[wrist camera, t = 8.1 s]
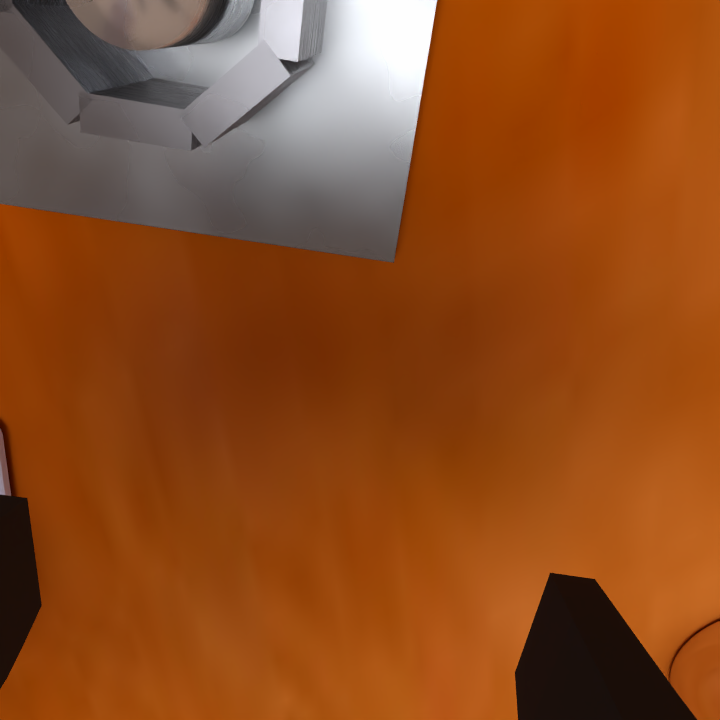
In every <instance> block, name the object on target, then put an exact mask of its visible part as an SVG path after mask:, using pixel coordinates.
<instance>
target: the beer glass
mask: <svg viewBox="0 0 720 720" xmlns="http://www.w3.org/2000/svg"><path fill="white" fill-rule="evenodd" d="M670 684H671V685H672V687H673V688H674V689H675V691H676V692H677V693H678V695H679V696H680V698H681V699H682V700H683V701H684V703H685V704H686V705H687V707H688V708H689V709H690V711H691V712H692V713H693V715H694V716H695V717H696V718H697V720H720V620H719V621H717V622H715V623H713V624H711V625H709V626H707V627H706V628H704V629H703V630H701V631H700V632H698V633H697V634H695V635H694V636H693V637H692V638H691V639H690V640H689V641H688V642H687V643H686V644H685V645H684V646H683V647H682V648H681V650H680V651H679V652H678V654H677V656H676V657H675V659H674V661H673V664H672V667H671V671H670Z"/></svg>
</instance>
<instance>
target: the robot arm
mask: <svg viewBox="0 0 720 720" xmlns="http://www.w3.org/2000/svg"><path fill="white" fill-rule="evenodd" d="M40 608H41V597H40V590H39V582H38V575H37V568H36V560H35V553H34V545H33V538H32V530H31V523H30V516H29V508H28V501H27V498H22V497H15V496H11V490H10V483H9V476H8V469H7V462H6V455H5V448H4V440H3V434H2V431H1V429H0V688H1V687H2V685H3V684H4V682H5V680H6V679H7V677H8V675H9V673H10V671H11V669H12V667H13V665H14V663H15V661H16V659H17V657H18V655H19V653H20V651H21V649H22V646H23V644H24V642H25V640H26V638H27V636H28V634H29V631H30V629H31V627H32V625H33V623H34V621H35V618H36V616H37V614H38V612H39V610H40ZM515 680H516V695H517V710H518V720H697V718H696V717H695V716H694V715H693V713H692V712H691V711H690V709H689V708H688V707H687V705H686V704H685V703H684V701H683V700H682V699H681V698H680V696H679V695H678V693H677V692H676V691H675V689H674V688H673V687H672V685H671V684H670V683H669V681H668V680H667V679H666V677H665V676H664V675H663V673H662V672H661V670H660V669H659V668H658V666H657V665H656V664H655V662H654V661H653V659H652V658H651V657H650V655H649V654H648V652H647V651H646V650H645V648H644V647H643V646H642V644H641V643H640V641H639V640H638V639H637V637H636V636H635V634H634V633H633V632H632V630H631V629H630V627H629V626H628V625H627V623H626V622H625V620H624V619H623V618H622V616H621V615H620V613H619V612H618V611H617V609H616V608H615V607H614V605H613V604H612V602H611V601H610V600H609V598H608V597H607V595H606V594H605V593H604V591H603V590H602V589H601V587H600V586H599V584H598V583H597V582H596V580H595V579H590V578H583V577H576V576H569V575H562V574H555V573H550V575H549V578H548V581H547V584H546V586H545V589H544V592H543V595H542V598H541V601H540V603H539V606H538V609H537V612H536V615H535V618H534V620H533V623H532V626H531V629H530V632H529V635H528V637H527V640H526V643H525V646H524V649H523V652H522V654H521V657H520V660H519V663H518V666H517V669H516V671H515Z"/></svg>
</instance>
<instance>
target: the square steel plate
mask: <svg viewBox="0 0 720 720" xmlns="http://www.w3.org/2000/svg"><path fill="white" fill-rule="evenodd" d="M66 2H67V4H68V5H69V7H70V9H71V10H72V11H73V13H74V14H75V16H76V17H77V18H78V19H79V20H80V21H81V23H82V24H83V25H84V26H85V27H86V28H87V29H89V30H90V31H91V32H92V33H93V34H95V35H96V36H98V37H99V38H101V39H102V40H104V41H106V42H108V43H110V44H112V45H114V46H117V47H120V48H124V49H128V50H132V51H133V52H134V53H135V54H136V56H137V57H138V58H139V59H140V61H141V62H142V63H143V64H144V66H145V67H146V68H147V69H148V71H149V72H150V73H151V74H152V76H153V77H154V78H157V79H163V80H169V81H175V82H181V83H187V84H193V85H199V86H205V87H210V86H212V85H213V84H214V83H215V82H216V81H217V80H219V79H220V78H221V77H222V76H223V75H224V74H225V73H227V72H228V71H229V70H230V69H231V68H232V67H233V66H235V65H236V64H237V63H238V62H239V61H240V60H242V59H243V58H244V57H245V56H246V55H247V54H248V53H250V52H251V51H252V50H253V49H254V48H255V47H256V46H258V36H259V22H260V8H261V0H66ZM436 3H437V0H327V9H326V18H325V27H324V36H323V45H322V53H320V54H318V55H315V56H312V57H311V58H312V59H313V61H314V62H315V65H314V66H313V67H312V68H310V69H309V70H308V71H307V72H306V73H304V74H303V75H302V76H301V77H300V78H298V79H297V80H296V81H295V82H293V83H292V84H291V85H290V86H289V87H287V88H286V89H285V90H284V91H283V92H281V93H280V94H279V95H278V96H277V97H275V98H274V99H273V100H272V101H270V102H269V103H268V104H267V105H266V106H264V107H263V108H262V109H261V110H260V111H258V112H257V113H256V114H255V115H254V116H252V117H251V118H250V119H249V120H248V121H246V122H245V123H243V124H242V125H240V126H238V127H237V128H235V129H233V130H232V131H230V132H229V133H227V134H225V135H224V136H222V137H221V138H219V139H217V140H216V141H214V142H213V143H211V144H209V145H208V146H206V147H205V148H204V147H203V145H200V146H199V147H197V148H195V149H194V150H192V151H188V150H182V149H176V148H170V147H164V146H158V145H152V144H146V143H140V142H134V141H128V140H122V139H116V138H110V137H104V136H98V135H92V134H86V133H81V132H80V121H78V122H74V123H71V124H68V125H67V124H66V123H65V121H64V120H63V119H62V118H61V117H60V116H59V115H58V113H57V112H56V111H55V110H54V109H53V108H52V107H51V105H50V104H49V103H48V102H47V101H46V100H45V98H44V97H43V96H42V95H41V94H40V93H39V92H38V90H37V89H36V88H35V87H34V86H33V85H32V83H31V82H30V81H29V80H28V79H27V78H26V77H25V75H24V74H23V73H22V72H21V71H20V70H19V69H18V67H17V66H16V65H15V64H14V63H13V62H12V60H11V59H10V58H9V57H8V56H7V55H6V54H5V52H4V51H3V50H2V49H1V48H0V204H6V205H13V206H20V207H26V208H33V209H40V210H46V211H53V212H60V213H66V214H73V215H80V216H86V217H93V218H100V219H106V220H113V221H120V222H126V223H133V224H140V225H146V226H153V227H160V228H166V229H173V230H180V231H186V232H193V233H200V234H206V235H213V236H220V237H226V238H233V239H240V240H246V241H253V242H260V243H267V244H273V245H280V246H287V247H293V248H300V249H307V250H313V251H320V252H327V253H333V254H340V255H347V256H353V257H360V258H367V259H373V260H380V261H387V262H393V263H394V258H395V252H396V246H397V240H398V234H399V227H400V221H401V215H402V209H403V203H404V197H405V191H406V185H407V179H408V173H409V167H410V161H411V155H412V149H413V143H414V137H415V131H416V125H417V118H418V112H419V106H420V100H421V94H422V88H423V82H424V76H425V70H426V64H427V58H428V52H429V46H430V40H431V34H432V28H433V22H434V16H435V9H436Z"/></svg>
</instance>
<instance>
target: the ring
mask: <svg viewBox="0 0 720 720" xmlns="http://www.w3.org/2000/svg"><path fill="white" fill-rule="evenodd" d="M326 9H327V0H261V8H260V22H259V36H258V46H256V47H255V48H254V49H253V50H252V51H251V52H250V53H248V54H247V55H246V56H245V57H244V58H243V59H242V60H240V61H239V62H238V63H237V64H236V65H235V66H233V67H232V68H231V69H230V70H229V71H228V72H227V73H225V74H224V75H223V76H222V77H221V78H220V79H219V80H217V81H216V82H215V83H214V84H213V85H212V86H210V87H205V86H199V85H193V84H187V83H181V82H175V81H169V80H163V79H157V78H154V77H153V76H152V74H151V73H150V72H149V71H148V69H147V68H146V67H145V66H144V64H143V63H142V62H141V61H140V59H139V58H138V57H137V56H136V54H135V53H134V52H133V51H132V50H128V49H124V48H120V47H117V46H114V45H112V44H110V43H108V42H106V41H104V40H102V39H101V38H99V37H98V36H96V35H95V34H93V33H92V32H91V31H90V30H89V29H87V28H86V27H85V26H84V25H83V24H82V23H81V21H80V20H79V19H78V18H77V17H76V16H75V14H74V13H73V11H72V10H71V9H70V7H69V5H68V4H67V2H66V0H0V48H1V49H2V50H3V51H4V52H5V54H6V55H7V56H8V57H9V58H10V59H11V60H12V62H13V63H14V64H15V65H16V66H17V67H18V69H19V70H20V71H21V72H22V73H23V74H24V75H25V77H26V78H27V79H28V80H29V81H30V82H31V83H32V85H33V86H34V87H35V88H36V89H37V90H38V92H39V93H40V94H41V95H42V96H43V97H44V98H45V100H46V101H47V102H48V103H49V104H50V105H51V107H52V108H53V109H54V110H55V111H56V112H57V113H58V115H59V116H60V117H61V118H62V119H63V120H64V121H65V123H66V124H67V125H68V124H71V123H74V122H78V121H80V132H81V133H86V134H92V135H98V136H104V137H110V138H116V139H122V140H128V141H134V142H140V143H146V144H152V145H158V146H164V147H170V148H176V149H182V150H188V151H192V150H194V149H195V148H197V147H199V146H200V145H203V147H204V148H205V147H206V146H208V145H209V144H211V143H213V142H214V141H216V140H217V139H219V138H221V137H222V136H224V135H225V134H227V133H229V132H230V131H232V130H233V129H235V128H237V127H238V126H240V125H242V124H243V123H245V122H246V121H248V120H249V119H250V118H251V117H252V116H254V115H255V114H256V113H257V112H258V111H260V110H261V109H262V108H263V107H264V106H266V105H267V104H268V103H269V102H270V101H272V100H273V99H274V98H275V97H277V96H278V95H279V94H280V93H281V92H283V91H284V90H285V89H286V88H287V87H289V86H290V85H291V84H292V83H293V82H295V81H296V80H297V79H298V78H300V77H301V76H302V75H303V74H304V73H306V72H307V71H308V70H309V69H310V68H312V67H313V66H314V65H315V62H314V61H313V59H312V58H311V57H312V56H315V55H318V54H320V53H322V45H323V36H324V27H325V18H326Z"/></svg>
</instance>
